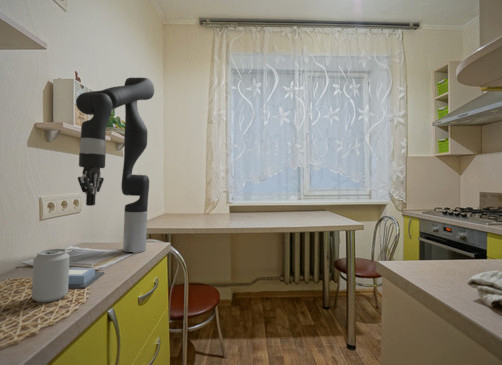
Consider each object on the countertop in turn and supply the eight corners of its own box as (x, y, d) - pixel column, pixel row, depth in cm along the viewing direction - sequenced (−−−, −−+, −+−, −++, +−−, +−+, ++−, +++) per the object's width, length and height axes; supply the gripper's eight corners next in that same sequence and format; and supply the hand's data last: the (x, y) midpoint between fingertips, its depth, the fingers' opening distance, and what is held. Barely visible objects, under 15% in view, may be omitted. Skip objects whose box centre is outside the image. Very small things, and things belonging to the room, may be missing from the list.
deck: (64, 268, 82) (50, 275, 75) (95, 268, 83) (84, 275, 76) (63, 276, 82) (50, 284, 75) (94, 276, 83) (83, 284, 76)
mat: (58, 273, 85) (58, 271, 86) (104, 273, 87) (104, 272, 87) (31, 288, 74) (31, 286, 74) (85, 288, 75) (85, 286, 75)
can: (66, 289, 74) (67, 246, 74) (70, 298, 68) (72, 251, 68) (31, 296, 69) (33, 249, 69) (32, 306, 63) (34, 256, 63)
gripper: (90, 154, 95) (88, 203, 95) (69, 150, 82) (66, 206, 81) (112, 155, 96) (110, 204, 95) (95, 151, 82) (92, 207, 82)
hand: (90, 205), depth 88 cm, fingers closed
